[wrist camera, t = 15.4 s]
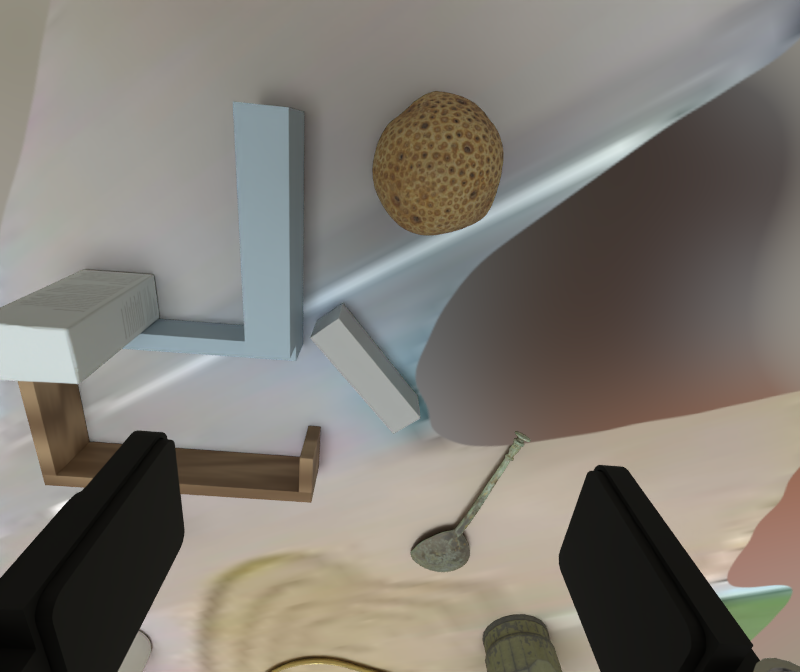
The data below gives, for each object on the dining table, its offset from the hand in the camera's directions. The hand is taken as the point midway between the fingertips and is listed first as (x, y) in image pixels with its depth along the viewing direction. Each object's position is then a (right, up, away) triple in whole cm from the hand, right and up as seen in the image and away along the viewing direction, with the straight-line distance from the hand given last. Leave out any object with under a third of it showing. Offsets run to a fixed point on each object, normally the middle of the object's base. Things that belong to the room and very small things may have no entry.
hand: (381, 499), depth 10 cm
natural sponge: (+3, +18, +26) cm, 31 cm away
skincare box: (-24, +7, +30) cm, 39 cm away
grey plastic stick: (-2, +2, +33) cm, 33 cm away
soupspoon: (+8, -15, +41) cm, 44 cm away
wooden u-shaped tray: (-20, -3, +34) cm, 39 cm away
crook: (-17, +13, +27) cm, 35 cm away
